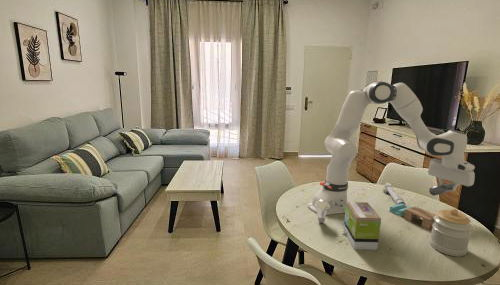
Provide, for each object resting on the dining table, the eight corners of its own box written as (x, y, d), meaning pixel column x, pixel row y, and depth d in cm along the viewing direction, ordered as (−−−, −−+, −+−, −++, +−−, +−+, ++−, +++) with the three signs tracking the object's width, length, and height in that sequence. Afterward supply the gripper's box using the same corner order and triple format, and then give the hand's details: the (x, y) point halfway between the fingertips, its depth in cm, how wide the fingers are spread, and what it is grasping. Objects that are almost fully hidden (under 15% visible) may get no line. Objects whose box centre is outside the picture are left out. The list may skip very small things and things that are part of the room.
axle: (436, 196, 137) (438, 189, 136) (428, 193, 140) (430, 186, 139) (455, 191, 144) (457, 184, 143) (446, 188, 147) (448, 181, 146)
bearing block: (427, 230, 131) (429, 219, 130) (404, 219, 141) (405, 209, 140) (438, 226, 135) (439, 216, 133) (414, 216, 145) (415, 206, 144)
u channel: (400, 216, 144) (401, 211, 144) (389, 211, 150) (389, 206, 149) (412, 212, 149) (413, 207, 148) (401, 207, 154) (402, 203, 154)
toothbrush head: (397, 201, 154) (382, 180, 177) (395, 211, 156) (380, 189, 179) (407, 202, 153) (391, 180, 176) (405, 212, 155) (389, 189, 179)
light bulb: (320, 227, 132) (322, 204, 129) (310, 221, 138) (312, 198, 135) (331, 224, 135) (333, 201, 132) (321, 218, 141) (323, 195, 138)
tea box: (342, 230, 129) (345, 201, 126) (364, 231, 129) (368, 201, 126) (353, 249, 115) (356, 216, 112) (378, 250, 114) (382, 217, 111)
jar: (453, 260, 109) (462, 218, 105) (422, 243, 121) (428, 205, 117) (473, 253, 114) (482, 213, 110) (441, 236, 126) (448, 200, 122)
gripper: (427, 158, 148) (423, 182, 151) (471, 169, 130) (466, 196, 133) (434, 156, 151) (430, 181, 154) (478, 167, 133) (473, 194, 136)
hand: (447, 188), depth 143 cm, fingers closed on axle, 4 cm apart
